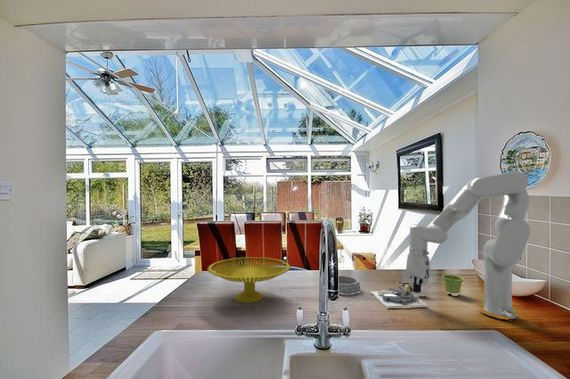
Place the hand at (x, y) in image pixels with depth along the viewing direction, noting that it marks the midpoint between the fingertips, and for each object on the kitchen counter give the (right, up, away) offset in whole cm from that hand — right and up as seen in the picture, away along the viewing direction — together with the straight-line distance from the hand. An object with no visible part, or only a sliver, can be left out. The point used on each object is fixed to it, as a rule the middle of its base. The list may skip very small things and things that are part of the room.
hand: (416, 291), depth 138 cm
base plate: (-7, -6, +5) cm, 10 cm away
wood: (+4, -6, +29) cm, 30 cm away
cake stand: (-78, -6, +9) cm, 78 cm away
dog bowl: (-30, -6, +21) cm, 37 cm away
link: (+6, -6, +11) cm, 14 cm away
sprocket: (-7, -4, +5) cm, 10 cm away
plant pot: (+23, -6, +13) cm, 27 cm away
